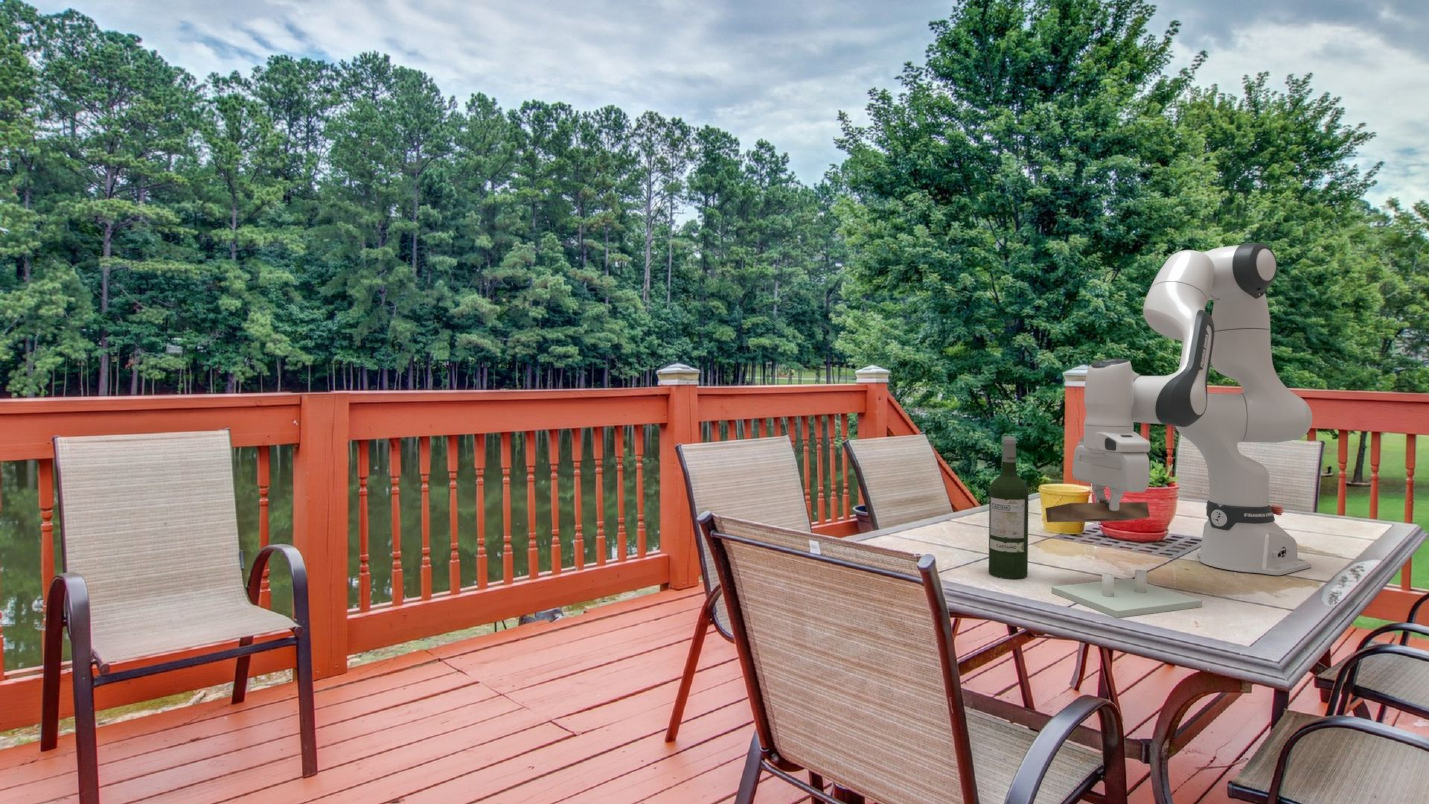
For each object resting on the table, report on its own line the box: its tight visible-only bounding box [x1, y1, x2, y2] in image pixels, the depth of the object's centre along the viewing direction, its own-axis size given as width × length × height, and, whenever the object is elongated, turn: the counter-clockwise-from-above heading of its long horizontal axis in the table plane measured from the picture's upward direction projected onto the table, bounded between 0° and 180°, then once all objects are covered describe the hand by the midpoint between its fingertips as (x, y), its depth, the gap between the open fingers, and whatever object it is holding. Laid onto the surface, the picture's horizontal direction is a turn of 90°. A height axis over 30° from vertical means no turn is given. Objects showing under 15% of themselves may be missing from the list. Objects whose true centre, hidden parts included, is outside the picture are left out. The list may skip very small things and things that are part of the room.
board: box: [1051, 569, 1203, 619], centre depth 143 cm, size 20×16×5 cm
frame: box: [1045, 501, 1150, 523], centre depth 152 cm, size 16×10×3 cm, turn 94°
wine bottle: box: [988, 436, 1029, 580], centre depth 160 cm, size 8×8×30 cm
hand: (1107, 508), depth 149 cm, fingers closed on frame, 2 cm apart
